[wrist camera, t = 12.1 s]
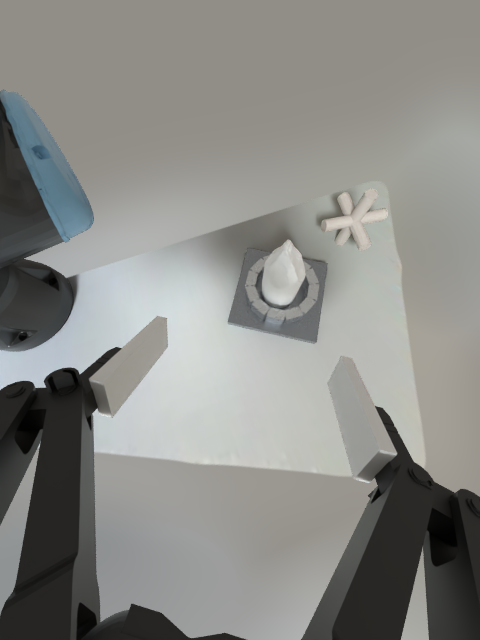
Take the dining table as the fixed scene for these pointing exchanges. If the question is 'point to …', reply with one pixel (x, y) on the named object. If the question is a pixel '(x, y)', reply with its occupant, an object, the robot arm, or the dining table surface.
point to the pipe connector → (355, 219)
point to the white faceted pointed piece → (282, 275)
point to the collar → (286, 321)
